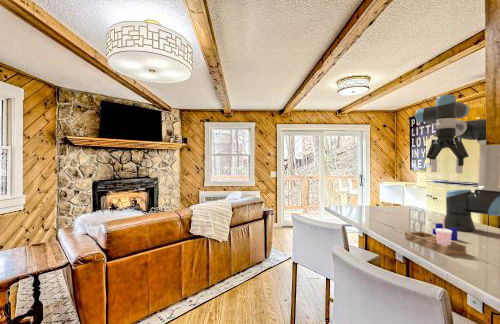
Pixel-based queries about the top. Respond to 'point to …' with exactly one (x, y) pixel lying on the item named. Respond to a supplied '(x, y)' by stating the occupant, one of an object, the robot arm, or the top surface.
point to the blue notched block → (454, 230)
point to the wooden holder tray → (435, 243)
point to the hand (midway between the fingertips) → (445, 172)
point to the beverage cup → (443, 235)
